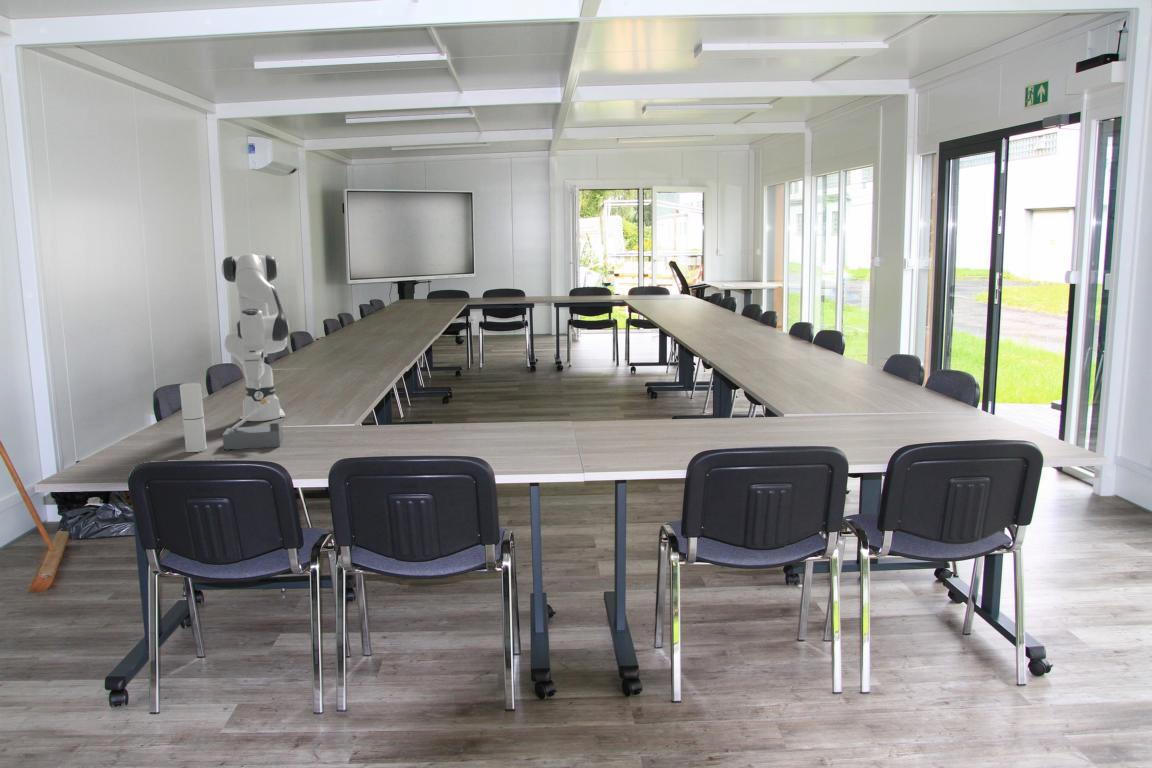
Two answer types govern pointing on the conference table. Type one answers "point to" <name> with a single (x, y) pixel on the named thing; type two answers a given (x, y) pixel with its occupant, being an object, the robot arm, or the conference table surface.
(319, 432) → the conference table surface
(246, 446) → the clamp block
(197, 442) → the cylindrical container
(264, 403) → the lever
